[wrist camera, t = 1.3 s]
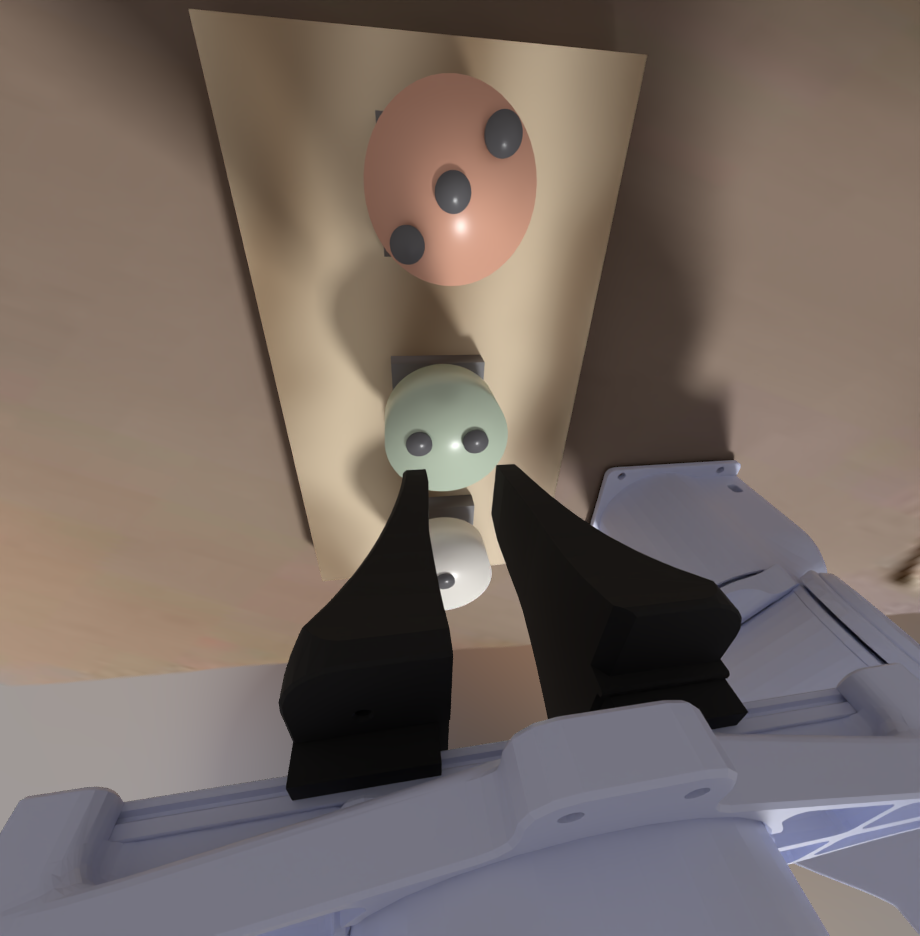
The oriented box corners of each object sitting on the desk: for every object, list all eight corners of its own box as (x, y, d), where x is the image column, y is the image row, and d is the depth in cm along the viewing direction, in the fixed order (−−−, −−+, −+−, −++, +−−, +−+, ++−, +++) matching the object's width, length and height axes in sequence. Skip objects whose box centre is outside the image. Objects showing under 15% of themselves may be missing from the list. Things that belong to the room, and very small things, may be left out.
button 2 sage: (501, 362, 16) (515, 383, 15) (491, 462, 19) (502, 489, 17) (380, 365, 16) (379, 387, 14) (388, 467, 18) (388, 497, 17)
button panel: (618, 69, 15) (664, 46, 13) (531, 539, 28) (545, 572, 26) (212, 31, 13) (172, -6, 10) (326, 557, 26) (320, 594, 24)
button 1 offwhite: (486, 514, 21) (496, 543, 19) (480, 576, 23) (488, 607, 22) (392, 521, 20) (393, 552, 18) (397, 585, 23) (398, 617, 21)
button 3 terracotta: (526, 96, 12) (551, 80, 10) (509, 275, 14) (526, 287, 13) (358, 83, 11) (353, 62, 9) (373, 274, 14) (371, 286, 12)
